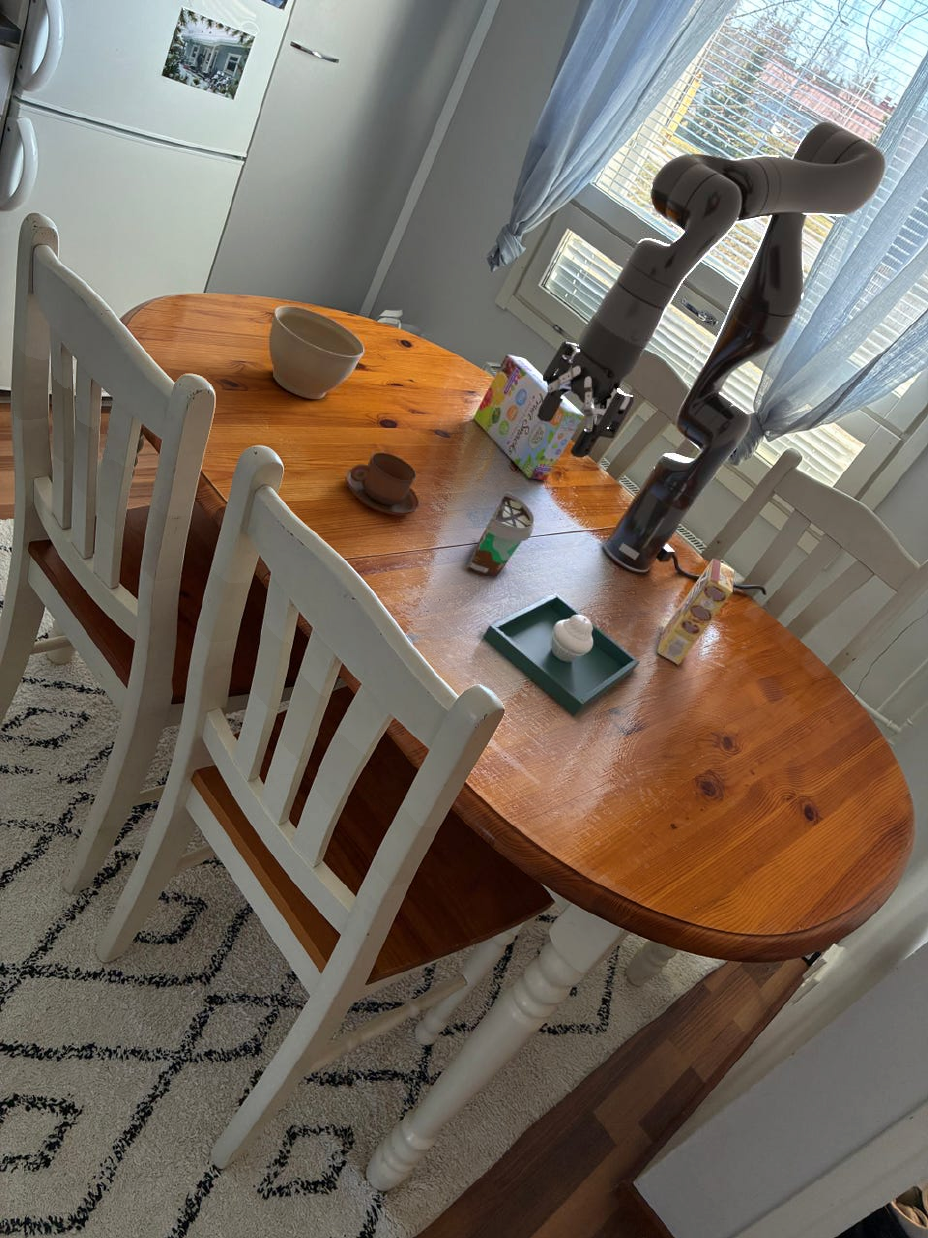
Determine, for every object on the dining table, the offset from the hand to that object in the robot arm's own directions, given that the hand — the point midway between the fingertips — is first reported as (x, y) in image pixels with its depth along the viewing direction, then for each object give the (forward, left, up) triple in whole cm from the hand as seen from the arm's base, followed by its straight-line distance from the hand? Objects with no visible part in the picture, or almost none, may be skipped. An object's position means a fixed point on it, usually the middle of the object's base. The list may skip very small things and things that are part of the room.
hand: (559, 437), depth 125 cm
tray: (-5, +16, -26) cm, 31 cm away
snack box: (-41, -38, -27) cm, 62 cm away
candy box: (-31, +18, -27) cm, 45 cm away
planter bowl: (0, -54, -27) cm, 61 cm away
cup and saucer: (+4, -21, -27) cm, 34 cm away
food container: (-7, -4, -27) cm, 28 cm away
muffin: (-5, +16, -26) cm, 31 cm away
